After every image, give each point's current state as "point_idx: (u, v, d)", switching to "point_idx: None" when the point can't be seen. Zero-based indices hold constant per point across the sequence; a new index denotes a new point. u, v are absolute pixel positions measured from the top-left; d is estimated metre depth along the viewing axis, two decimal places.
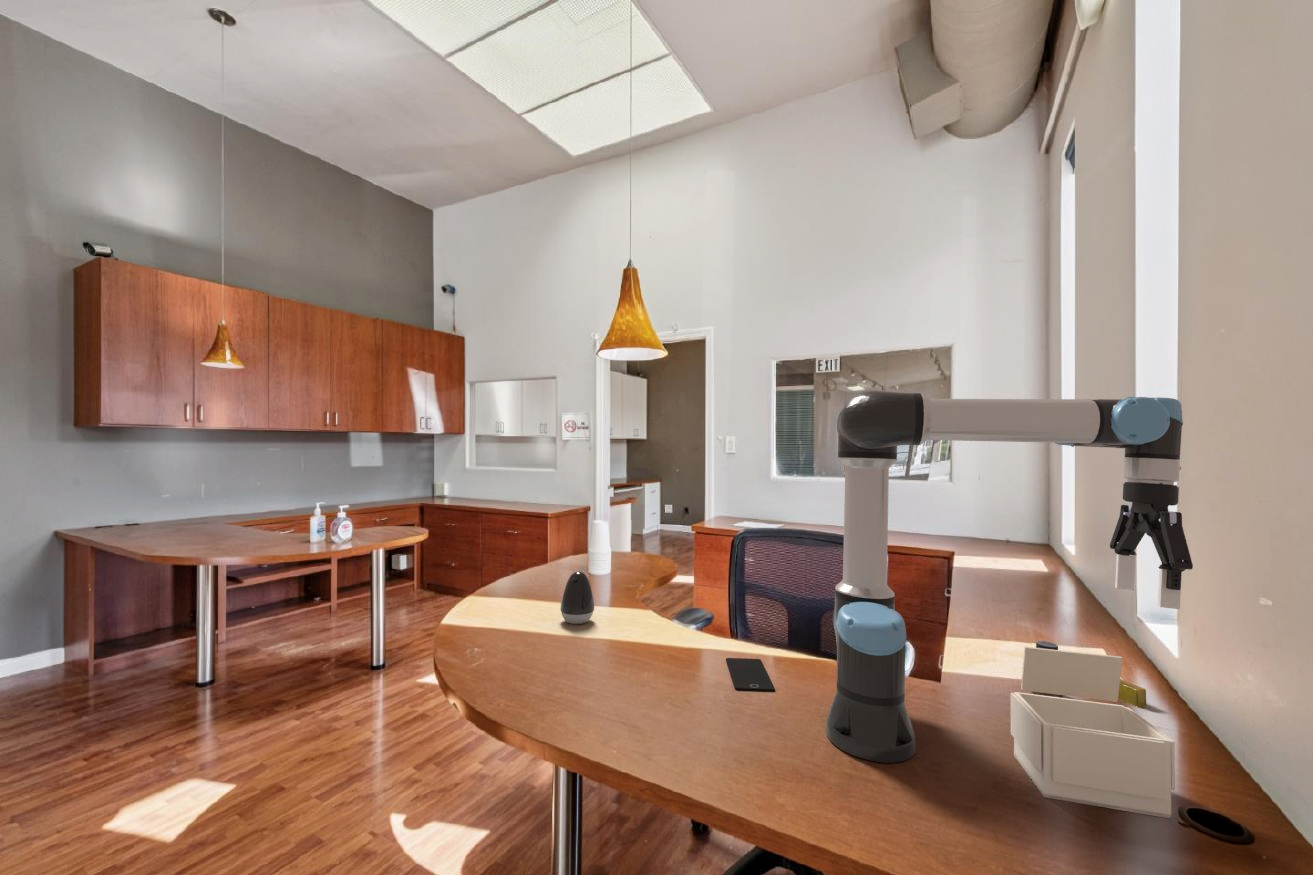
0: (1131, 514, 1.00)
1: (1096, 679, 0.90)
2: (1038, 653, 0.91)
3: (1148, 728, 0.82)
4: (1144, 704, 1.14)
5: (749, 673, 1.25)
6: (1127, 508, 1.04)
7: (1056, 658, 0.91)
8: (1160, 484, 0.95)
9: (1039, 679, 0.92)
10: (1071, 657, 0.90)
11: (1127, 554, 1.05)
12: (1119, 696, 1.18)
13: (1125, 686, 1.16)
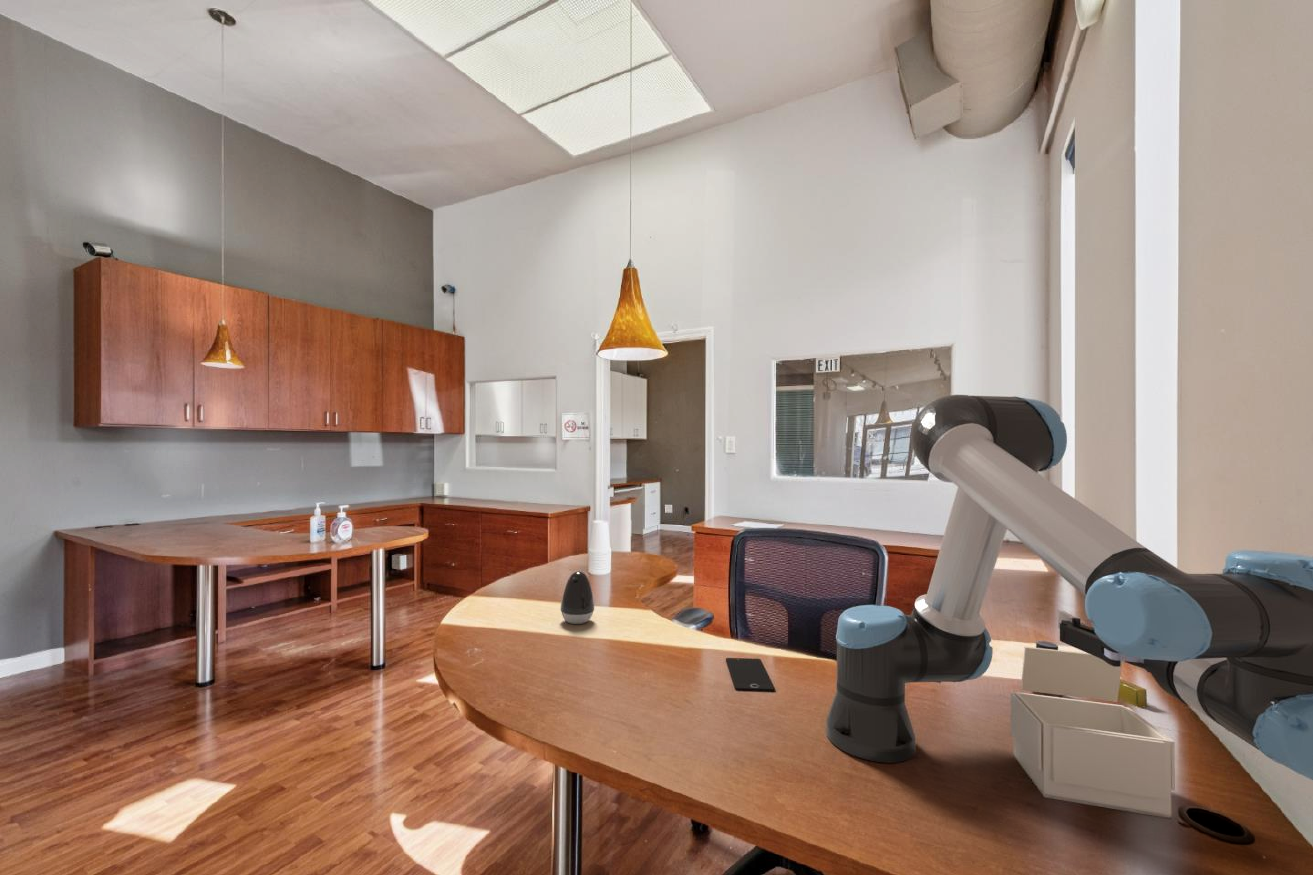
0: None
1: (1096, 679, 0.90)
2: (1038, 653, 0.91)
3: (1148, 728, 0.82)
4: (1144, 704, 1.14)
5: (749, 673, 1.25)
6: None
7: (1056, 658, 0.91)
8: (1171, 673, 0.61)
9: (1039, 679, 0.92)
10: (1071, 657, 0.90)
11: None
12: (1120, 696, 1.18)
13: (1125, 686, 1.16)
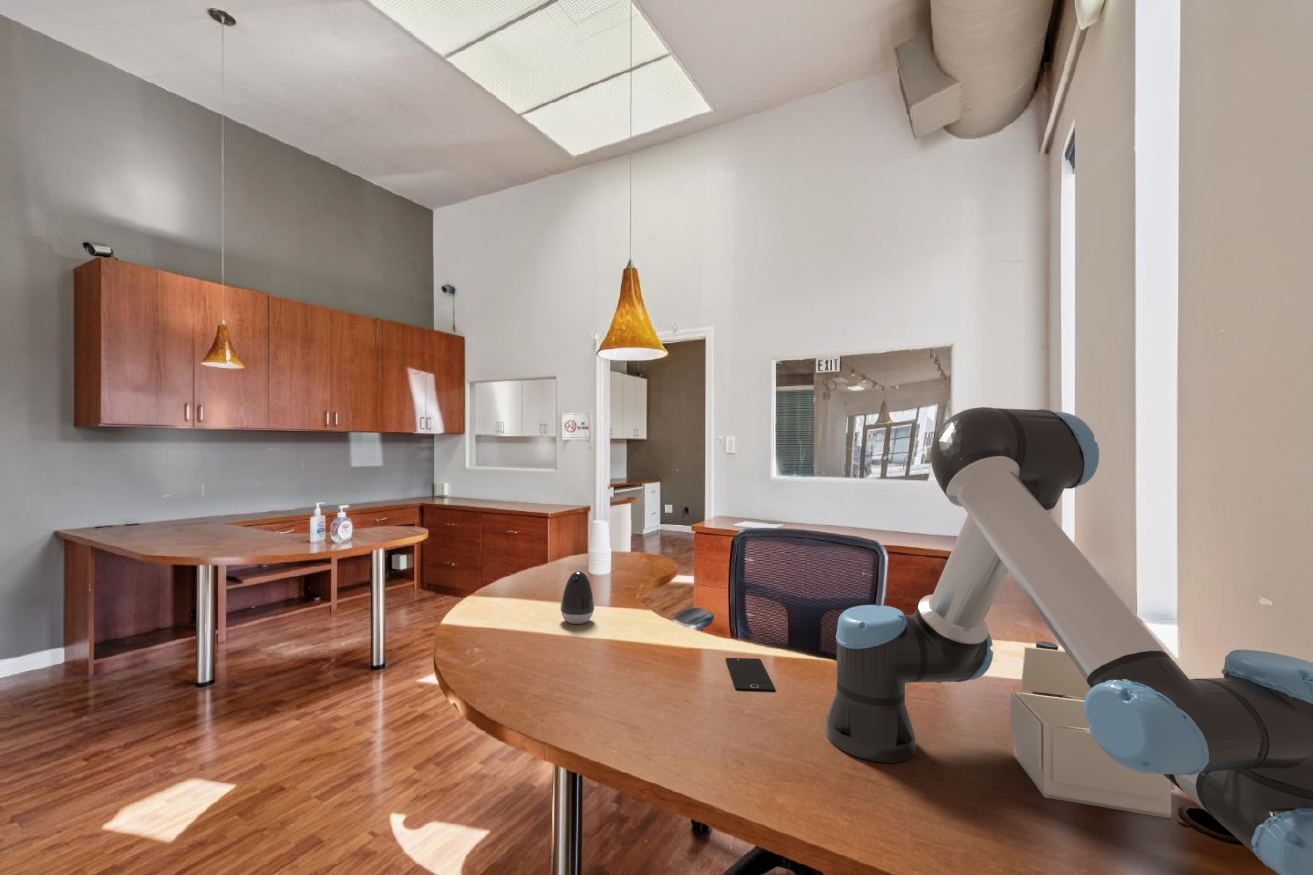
0: None
1: None
2: (1038, 653, 0.91)
3: None
4: None
5: (749, 673, 1.25)
6: None
7: (1056, 658, 0.91)
8: None
9: (1039, 679, 0.92)
10: None
11: None
12: None
13: None
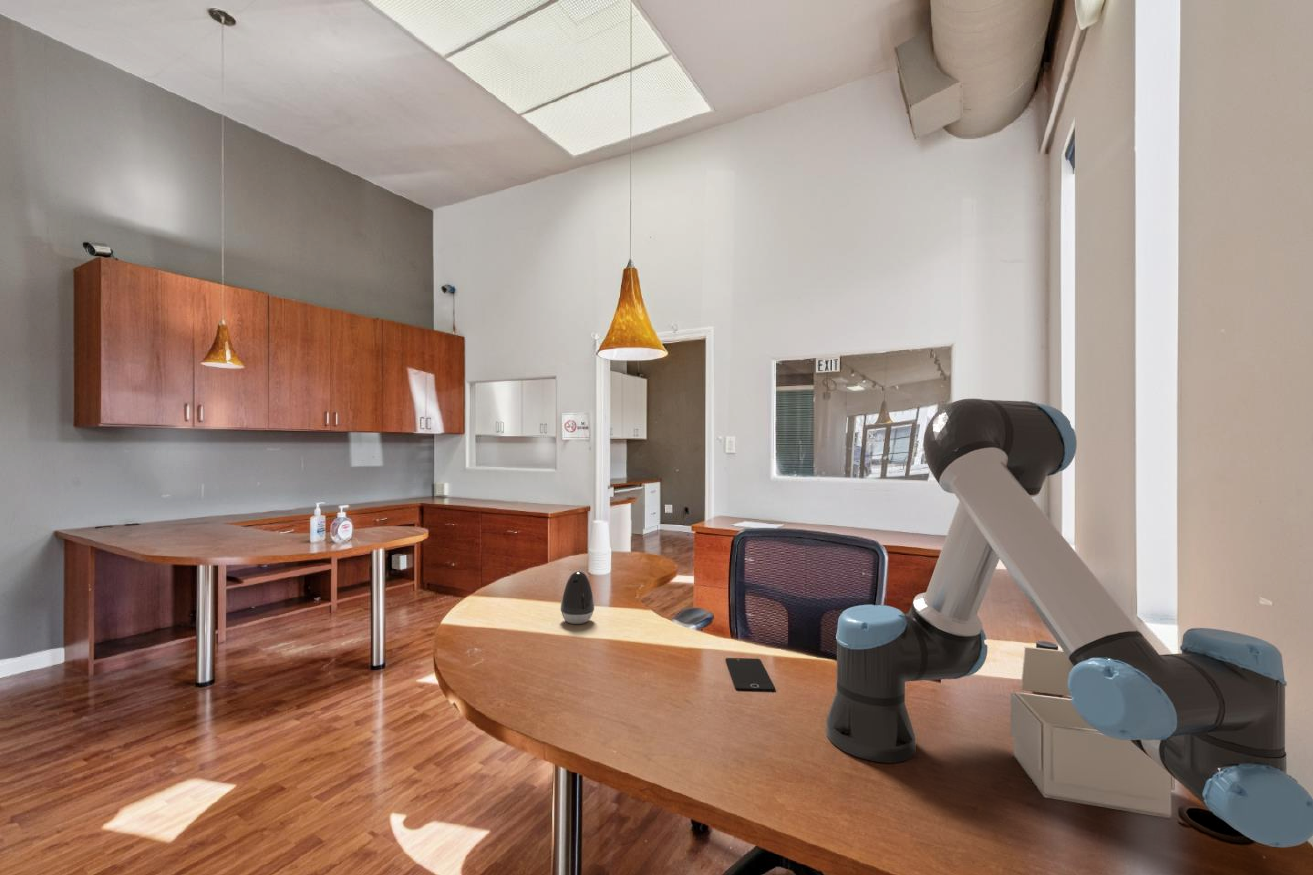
0: None
1: None
2: (1038, 653, 0.91)
3: None
4: None
5: (749, 673, 1.25)
6: None
7: (1056, 658, 0.91)
8: None
9: (1039, 679, 0.92)
10: None
11: None
12: None
13: None
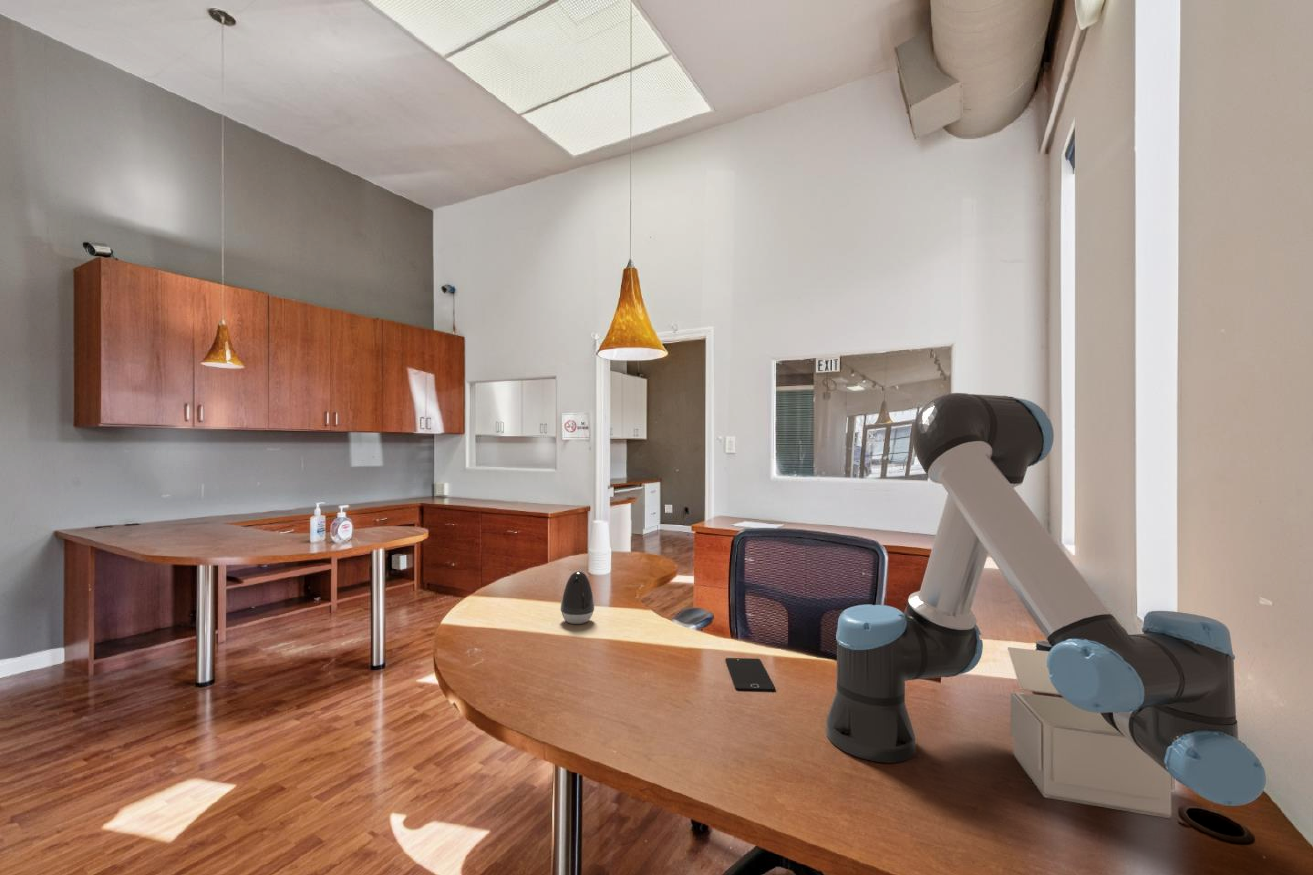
0: None
1: None
2: (1021, 652, 0.98)
3: None
4: None
5: (749, 673, 1.25)
6: None
7: (1039, 656, 0.97)
8: None
9: (1033, 677, 0.94)
10: None
11: None
12: None
13: None
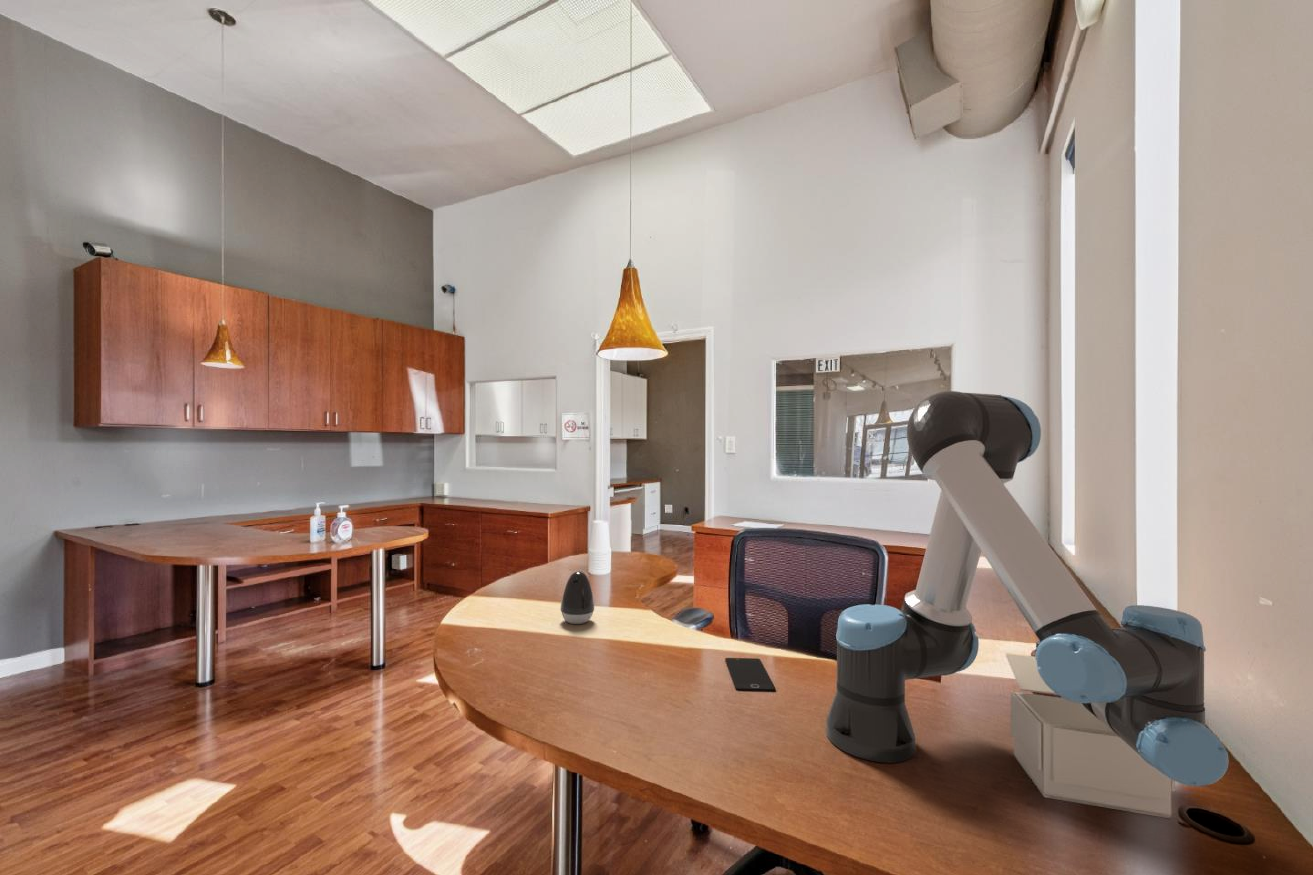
0: None
1: None
2: (1019, 658, 0.99)
3: None
4: None
5: (749, 673, 1.25)
6: None
7: None
8: None
9: (1032, 679, 0.95)
10: None
11: None
12: None
13: None
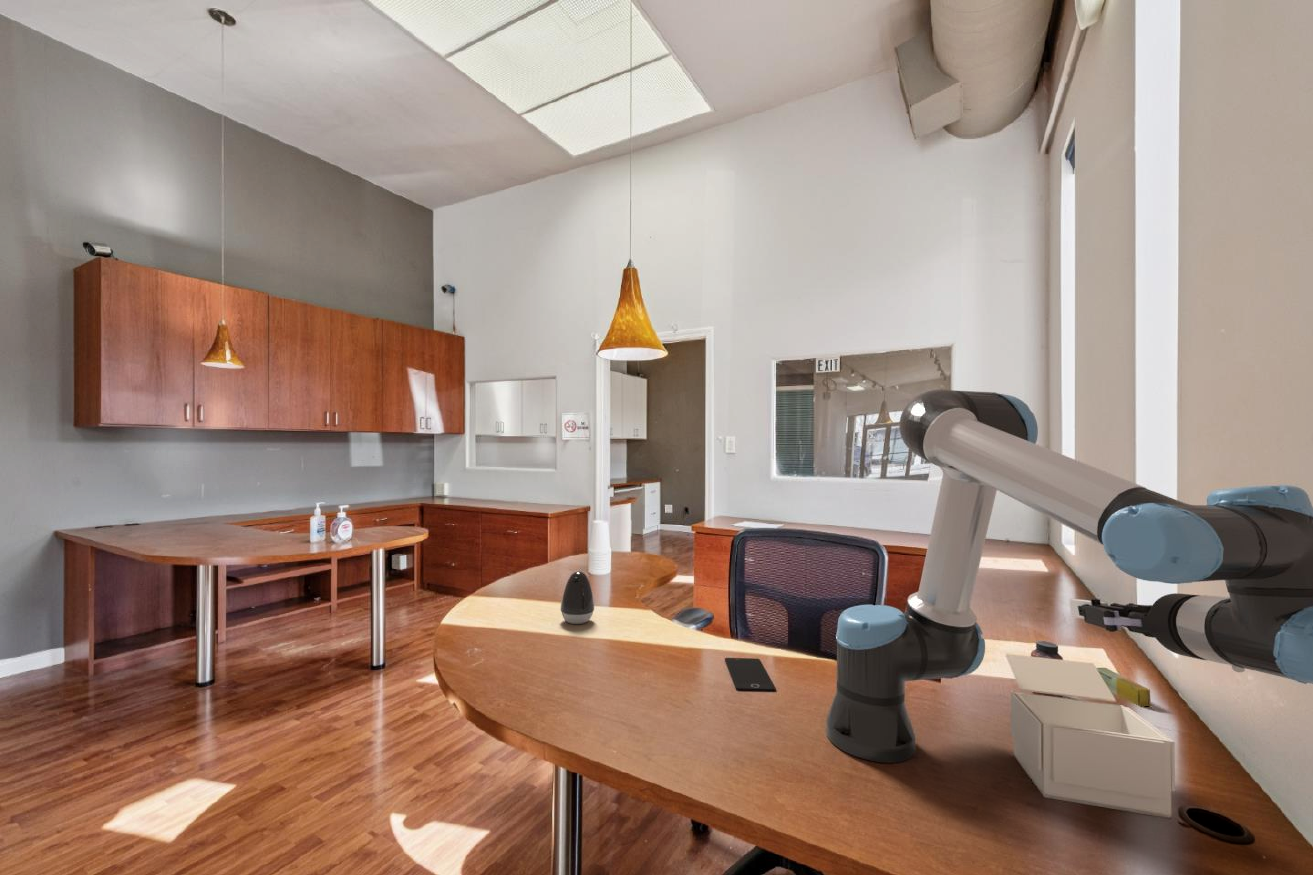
0: None
1: (1083, 680, 0.94)
2: (1019, 658, 0.99)
3: (1148, 728, 0.82)
4: (1147, 704, 1.14)
5: (749, 673, 1.25)
6: None
7: (1037, 662, 0.98)
8: (1173, 626, 0.64)
9: (1032, 679, 0.95)
10: (1049, 661, 0.98)
11: None
12: (1124, 695, 1.18)
13: (1129, 686, 1.17)
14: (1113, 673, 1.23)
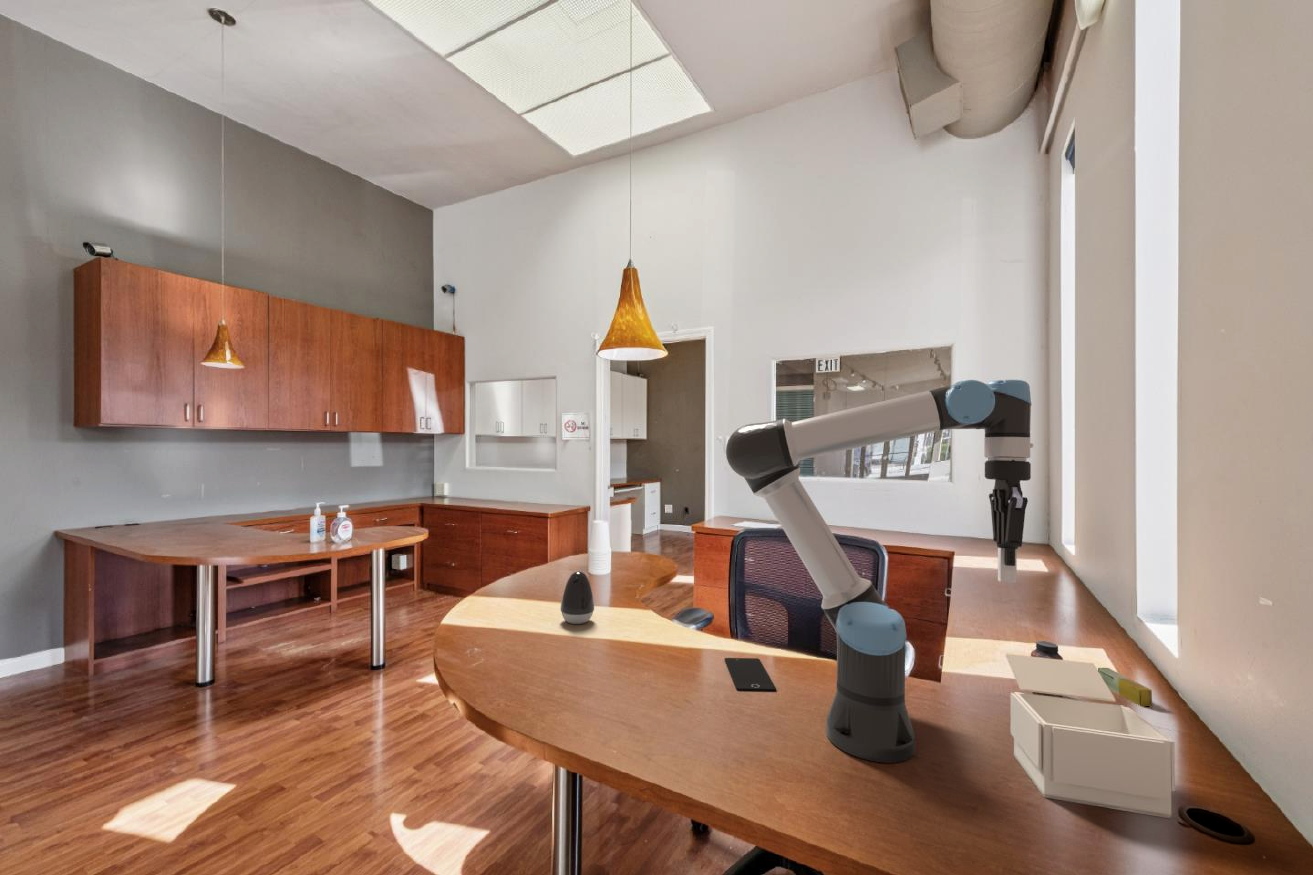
0: (993, 491, 1.06)
1: (1083, 680, 0.94)
2: (1019, 658, 0.99)
3: (1148, 728, 0.82)
4: (1149, 704, 1.14)
5: (749, 673, 1.25)
6: None
7: (1037, 662, 0.98)
8: (1012, 461, 1.01)
9: (1032, 679, 0.95)
10: (1049, 661, 0.98)
11: None
12: (1126, 695, 1.18)
13: (1130, 686, 1.17)
14: (1115, 673, 1.23)
